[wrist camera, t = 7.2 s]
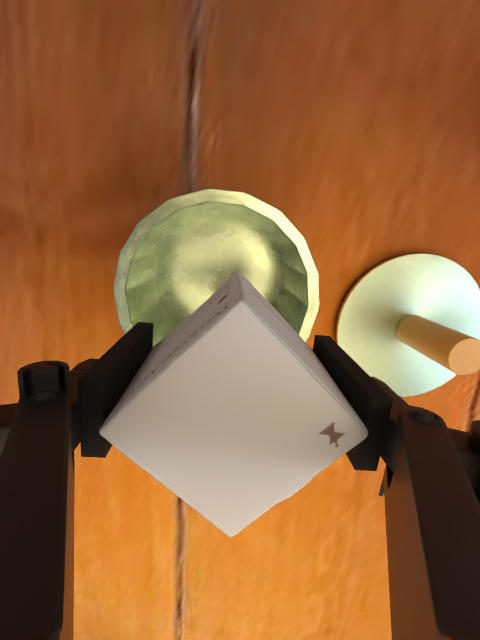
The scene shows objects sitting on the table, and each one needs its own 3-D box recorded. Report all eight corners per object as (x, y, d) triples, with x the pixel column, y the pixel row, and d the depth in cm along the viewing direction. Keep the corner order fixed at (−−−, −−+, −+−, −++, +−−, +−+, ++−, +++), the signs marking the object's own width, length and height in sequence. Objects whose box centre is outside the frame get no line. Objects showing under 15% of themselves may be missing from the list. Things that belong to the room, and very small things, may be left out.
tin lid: (347, 246, 30) (394, 248, 21) (494, 260, 30) (595, 267, 22) (323, 387, 33) (354, 437, 25) (455, 396, 34) (529, 447, 26)
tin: (150, 198, 28) (111, 177, 19) (301, 213, 29) (336, 201, 20) (147, 342, 31) (113, 385, 22) (283, 352, 32) (305, 397, 23)
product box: (237, 266, 15) (245, 293, 8) (315, 351, 17) (378, 437, 10) (151, 346, 16) (90, 433, 9) (230, 421, 18) (231, 546, 10)
